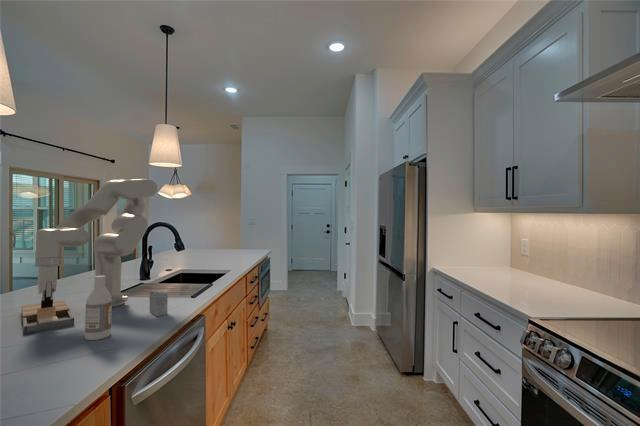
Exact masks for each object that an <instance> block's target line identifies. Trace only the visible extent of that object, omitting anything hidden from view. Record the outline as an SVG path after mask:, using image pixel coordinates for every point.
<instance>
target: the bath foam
mask: <svg viewBox="0 0 640 426" xmlns="http://www.w3.org/2000/svg"><path fill="white" fill-rule="evenodd" d="M93 286H94V288H93V289H92V290H91V291H90V293H89V294H88V296H87V297H86V302H85V316H84V317H85V321H84V323H85V324H84V340H87V341H98V340H99V341H100V340H103V339H105V338H108V337H109V336H111V332H112V311H113V309H112V308H113V307H112V297H111V294H110V292H109V291H108V290H107V288H106V287H105V276H104V275H101V276H95V275H94V283H93Z"/></svg>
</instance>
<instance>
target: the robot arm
mask: <svg viewBox="0 0 640 426" xmlns="http://www.w3.org/2000/svg"><path fill="white" fill-rule="evenodd" d="M157 192H158V184H157V183H156V181H154V180H153V179H150V178H133V179H112V180H108V181H105V183H103V184H102V185H101V186H100V187H99V188H98V190H97V191H96V192H95V193H94V194H93V196H91V197H90V198H89V199H88V201H87V202H86V203H84V204H83V205H81V206H80V207H78V208H77V209H76V210H74V211H73V212H71V213H70V214H68V215H67V216H65V217H64V218H63V219H62V220H61V221H60V222H59V224H58V225H57V226H55V228H40V229H38V230H37V231H36V234H35V235H36V236H35V256H34V257H35V258H34V267H36V268H37V286H36V293H37V294H38V295H41V300H40V303H41V308H48V307H53V302H54V299H53V298H54V293H55V292H56V291H57V284H58V283H57V282H58V269H59V268H58V266H59V267H60V266H62V263H63V248H65V247H66V248H67V247H69V248H70V247H71V248H78V247H82V246H84V245H87V243H88V242H89V241H90V240H89V239H90V234H89V232H88V231H87V230H85V229H83V227H84V226H86V225H87V224H89V223H92V222H94V221H97V220H99V219H102V218H103V217H105V216H107V215H108V214H109V212H110V211H111V209H112V208H113V207H114V206H115V205H116V204H117V203H118V202H119V200H125V202H124V203H125V204H124V205H123V207H122V208H121V209H120V211H119V212H118V214H116V216H115V218H114V219H113V221H112V223H111V230H112V231H113V232H114V233H112V232H111V233H103V234H100V235H98V236H97V237H96V238H95V239H94V242H93V253H94V256H95V270H94V271H95V273H94V274H95V275H94V277H95V276H101V275H104V276H105V287H106V288H107V290H108V291H109V292H110V294H111V297H112V308H115V307H119V306H121V305H123V304H124V303H125V302H128V299H129V295H128V296H127V295H125V296H124V293H123V292H121V290H122V266H123V265H122V260H121V259H122V257H125V256H129V255H130V254H132V253H133V252H134V251H135V250H136V248H137V246H138V244H139V243H140V242H141V240H142V239H143V237H144V236H145V234H146V232H147V230H148V226H149V223H148V219H147V218H146V217H145V216H143V215H144V212H145V210H146V204H145V200H144V198H150V197H153V196H155V195H156V194H157Z"/></svg>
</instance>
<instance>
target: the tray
mask: <svg viewBox="0 0 640 426" xmlns="http://www.w3.org/2000/svg"><path fill="white" fill-rule="evenodd" d="M57 318H58V320H57V321H51V322H46V323H40V324H37V321H32V322H27V319H26V317H25V318H23V323H22V327H23V328H22V329H23V335H28V334H32V333H33V334H34V333H40V332H45V331H50V330H55V329H60V328H65V327H70V326H71V327H72V326H74V325H75V316H74V315H73V314H72V312H71V310H69V311H67V316H62V317H57Z"/></svg>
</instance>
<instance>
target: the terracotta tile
mask: <svg viewBox="0 0 640 426" xmlns="http://www.w3.org/2000/svg"><path fill="white" fill-rule="evenodd" d="M55 316H56V307H48V308H41V309H37V324H38V319H43V318H49V317H55Z"/></svg>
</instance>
